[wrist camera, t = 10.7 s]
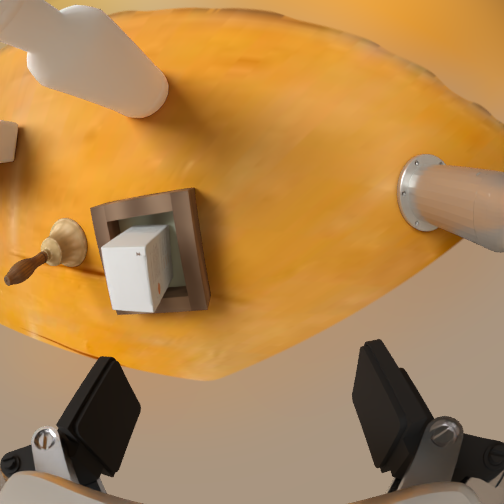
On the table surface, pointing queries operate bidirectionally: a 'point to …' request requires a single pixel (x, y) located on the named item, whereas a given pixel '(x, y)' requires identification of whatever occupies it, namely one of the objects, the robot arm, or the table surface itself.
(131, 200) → the well block
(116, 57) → the bottle
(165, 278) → the small box
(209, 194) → the table surface
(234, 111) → the table surface
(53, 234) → the hand bell
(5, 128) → the stereo radio cassette player
